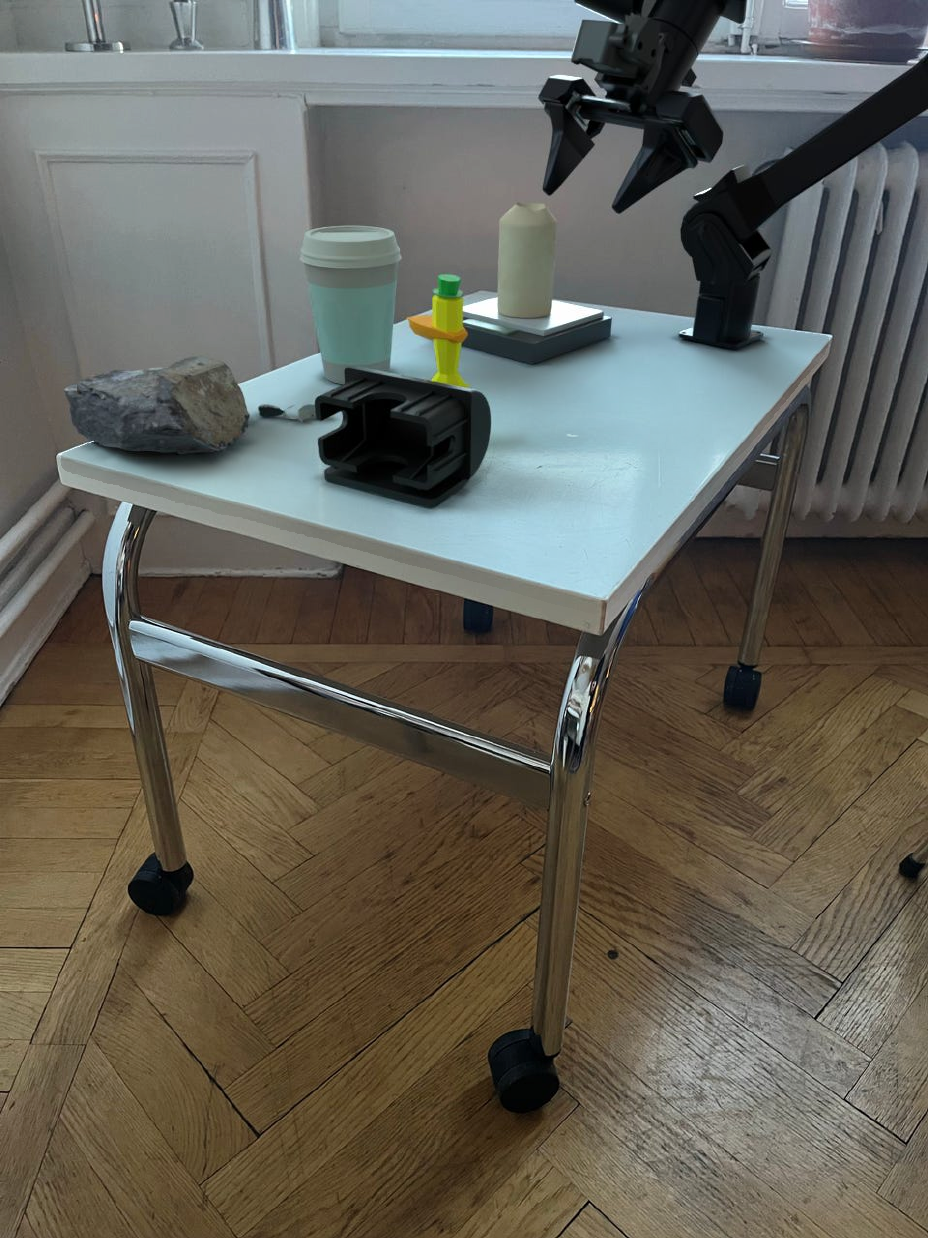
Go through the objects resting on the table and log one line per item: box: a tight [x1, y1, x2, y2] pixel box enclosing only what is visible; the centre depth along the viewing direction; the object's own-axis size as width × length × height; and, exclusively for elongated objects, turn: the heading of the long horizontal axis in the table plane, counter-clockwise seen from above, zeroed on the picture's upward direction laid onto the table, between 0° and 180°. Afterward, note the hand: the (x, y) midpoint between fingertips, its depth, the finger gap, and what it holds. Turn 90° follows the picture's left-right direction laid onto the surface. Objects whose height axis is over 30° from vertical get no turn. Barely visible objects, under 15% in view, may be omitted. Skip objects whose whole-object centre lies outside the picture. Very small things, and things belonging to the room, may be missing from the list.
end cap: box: [314, 366, 492, 509], centre depth 62 cm, size 10×7×7 cm
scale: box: [461, 297, 613, 365], centre depth 93 cm, size 13×13×3 cm
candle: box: [496, 202, 558, 318], centre depth 89 cm, size 6×6×10 cm
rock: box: [63, 355, 251, 455], centre depth 67 cm, size 14×11×5 cm
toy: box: [257, 403, 316, 423], centre depth 72 cm, size 1×8×2 cm
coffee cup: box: [299, 225, 403, 385], centre depth 79 cm, size 8×8×12 cm
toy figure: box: [406, 273, 473, 389], centre depth 66 cm, size 7×4×12 cm, turn 43°
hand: (579, 201), depth 84 cm, fingers open, 9 cm apart
